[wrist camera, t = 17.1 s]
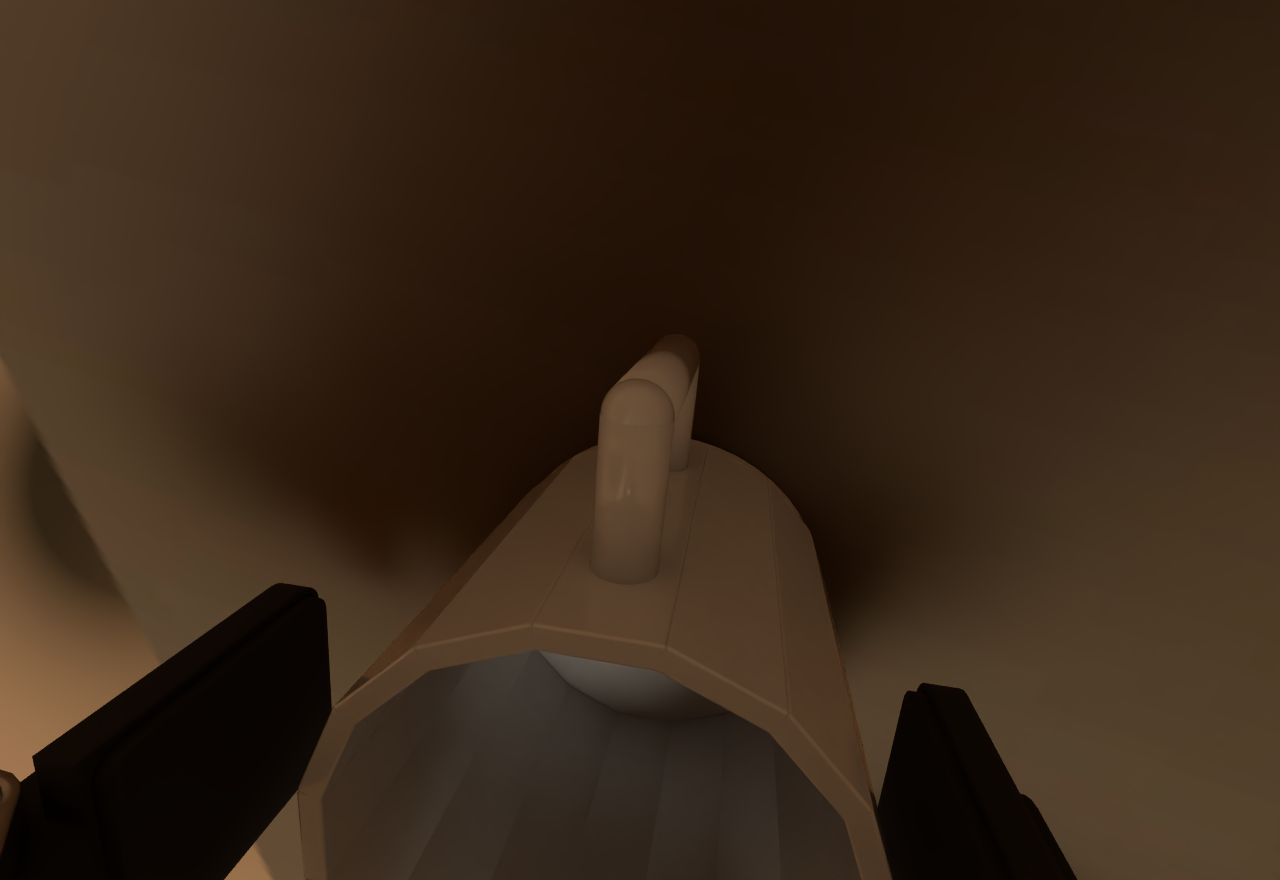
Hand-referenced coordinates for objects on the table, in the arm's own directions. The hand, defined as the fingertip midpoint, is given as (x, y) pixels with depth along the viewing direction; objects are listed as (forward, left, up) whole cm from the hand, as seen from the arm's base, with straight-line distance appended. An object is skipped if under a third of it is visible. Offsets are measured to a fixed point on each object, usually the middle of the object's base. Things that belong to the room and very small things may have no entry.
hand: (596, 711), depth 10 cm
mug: (-1, +1, -4) cm, 4 cm away
